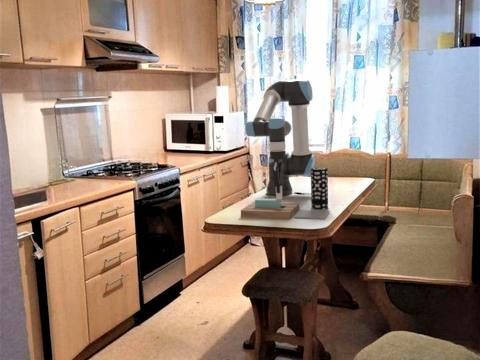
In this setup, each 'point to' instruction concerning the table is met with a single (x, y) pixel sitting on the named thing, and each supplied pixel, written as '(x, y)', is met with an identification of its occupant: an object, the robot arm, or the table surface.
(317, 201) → the spotted tube
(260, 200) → the teal bar
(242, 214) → the pocket board
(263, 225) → the table surface
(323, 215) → the felt pad
